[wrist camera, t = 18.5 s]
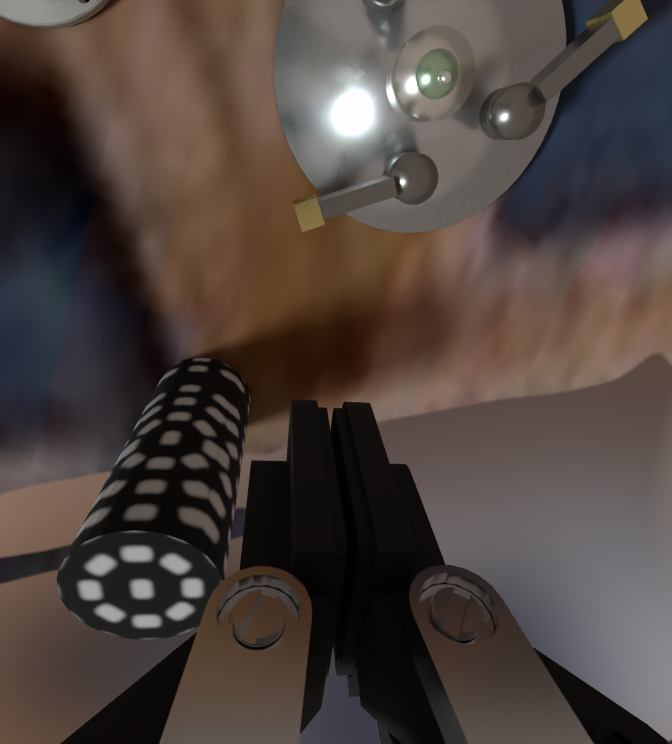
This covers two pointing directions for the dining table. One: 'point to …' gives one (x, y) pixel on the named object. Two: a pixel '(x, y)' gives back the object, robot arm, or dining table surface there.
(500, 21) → the tribrach plate
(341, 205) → the metal scoop
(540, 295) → the dining table surface
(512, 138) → the metal scoop
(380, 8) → the metal scoop
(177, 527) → the spotted tube
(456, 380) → the dining table surface
